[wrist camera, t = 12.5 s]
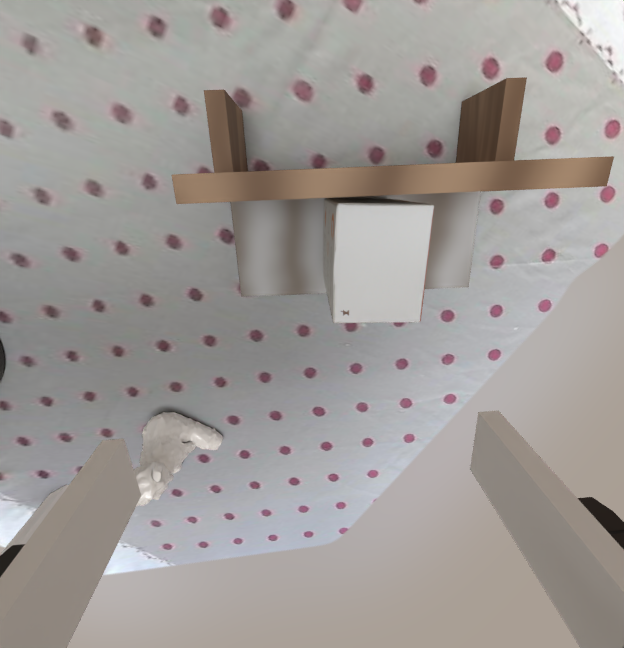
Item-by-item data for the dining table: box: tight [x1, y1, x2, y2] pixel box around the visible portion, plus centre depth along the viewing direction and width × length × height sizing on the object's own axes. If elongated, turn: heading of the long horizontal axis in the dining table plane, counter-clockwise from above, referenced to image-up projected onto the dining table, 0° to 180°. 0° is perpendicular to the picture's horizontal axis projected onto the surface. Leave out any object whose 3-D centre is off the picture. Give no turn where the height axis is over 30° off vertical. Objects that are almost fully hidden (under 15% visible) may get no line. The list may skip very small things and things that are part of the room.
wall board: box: [172, 78, 614, 297], centre depth 29 cm, size 24×18×18 cm
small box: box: [323, 198, 434, 323], centre depth 29 cm, size 8×6×13 cm
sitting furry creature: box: [134, 412, 223, 506], centre depth 42 cm, size 10×9×12 cm
